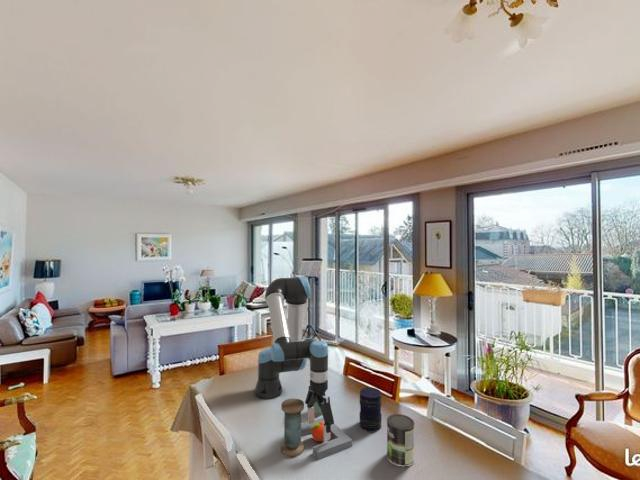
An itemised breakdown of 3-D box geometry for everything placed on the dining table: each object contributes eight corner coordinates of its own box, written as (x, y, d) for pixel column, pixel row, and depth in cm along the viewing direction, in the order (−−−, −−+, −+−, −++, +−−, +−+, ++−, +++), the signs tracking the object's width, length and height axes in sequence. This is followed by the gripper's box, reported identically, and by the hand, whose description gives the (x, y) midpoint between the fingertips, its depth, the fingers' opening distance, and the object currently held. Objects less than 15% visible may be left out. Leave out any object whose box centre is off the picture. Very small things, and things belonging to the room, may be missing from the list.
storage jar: (383, 421, 144) (383, 389, 145) (379, 433, 135) (380, 398, 136) (361, 417, 148) (361, 386, 148) (357, 429, 138) (357, 395, 139)
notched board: (295, 432, 136) (295, 426, 136) (326, 422, 144) (326, 416, 144) (317, 459, 119) (317, 452, 119) (352, 446, 127) (352, 439, 127)
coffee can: (391, 468, 114) (391, 429, 114) (383, 450, 124) (383, 414, 125) (418, 466, 115) (418, 428, 115) (408, 448, 125) (408, 413, 125)
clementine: (313, 447, 125) (313, 429, 126) (306, 438, 132) (306, 421, 132) (330, 442, 129) (330, 424, 129) (322, 433, 135) (323, 416, 135)
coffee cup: (324, 418, 147) (324, 393, 147) (306, 416, 148) (306, 391, 149) (327, 409, 155) (327, 385, 155) (310, 407, 157) (310, 383, 157)
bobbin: (277, 446, 126) (277, 401, 126) (297, 440, 130) (297, 396, 131) (286, 459, 118) (286, 411, 119) (307, 452, 123) (307, 406, 123)
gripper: (297, 371, 140) (297, 418, 139) (326, 393, 118) (326, 450, 118) (312, 367, 144) (312, 414, 143) (342, 389, 122) (342, 444, 121)
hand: (318, 430), depth 130 cm, fingers open, 13 cm apart
